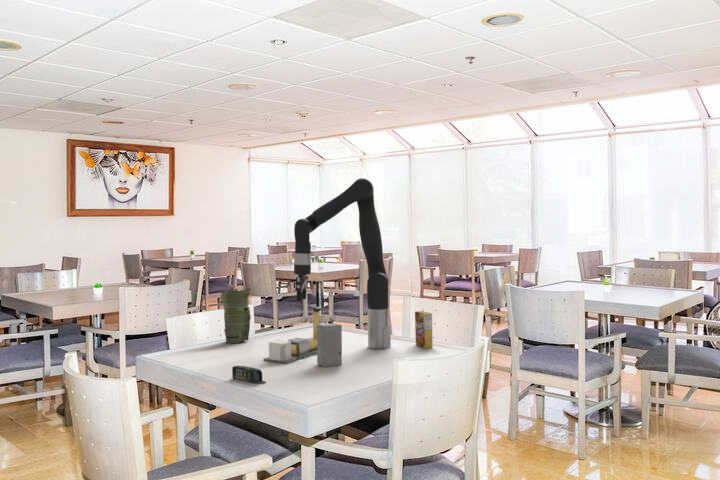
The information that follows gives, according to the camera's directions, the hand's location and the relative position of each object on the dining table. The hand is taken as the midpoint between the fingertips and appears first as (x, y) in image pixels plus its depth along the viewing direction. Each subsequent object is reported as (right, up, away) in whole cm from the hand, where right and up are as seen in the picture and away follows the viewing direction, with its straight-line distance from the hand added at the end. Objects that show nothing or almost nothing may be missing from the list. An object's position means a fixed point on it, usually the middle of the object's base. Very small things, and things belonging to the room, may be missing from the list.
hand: (301, 299), depth 269 cm
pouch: (-32, -21, +15) cm, 41 cm away
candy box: (+55, -21, 0) cm, 59 cm away
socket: (-6, -21, -26) cm, 34 cm away
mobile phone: (-13, -23, -57) cm, 63 cm away
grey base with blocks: (+1, -21, -15) cm, 26 cm away
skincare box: (+14, -22, -33) cm, 42 cm away
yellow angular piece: (+3, -20, -11) cm, 23 cm away
